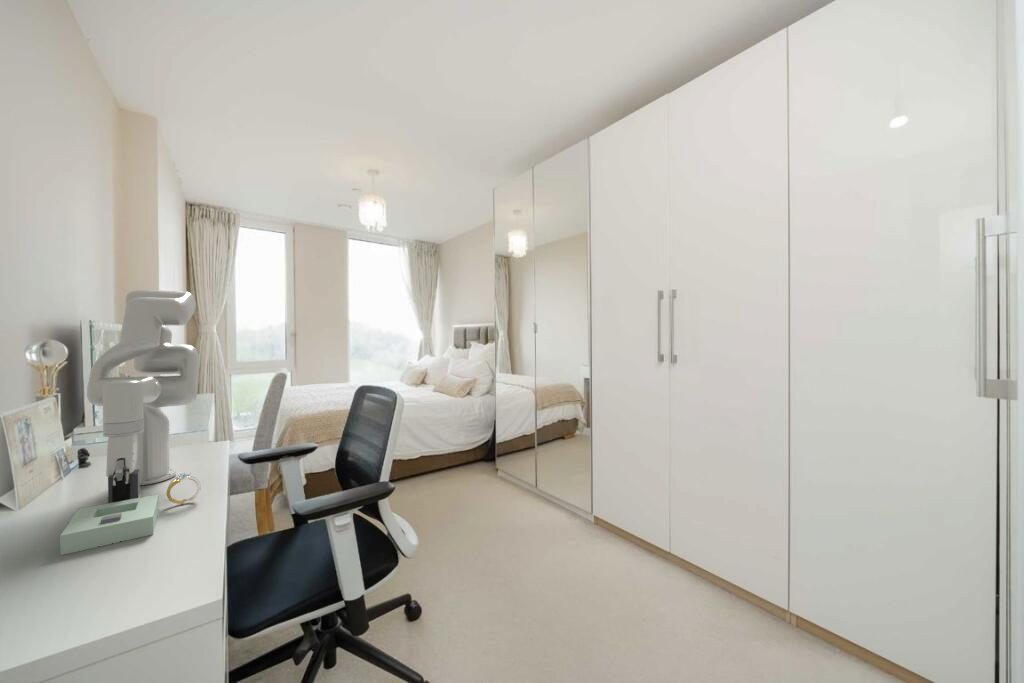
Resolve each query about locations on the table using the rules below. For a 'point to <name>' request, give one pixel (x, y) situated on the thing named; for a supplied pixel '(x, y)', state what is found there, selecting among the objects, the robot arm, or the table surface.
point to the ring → (177, 480)
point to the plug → (134, 485)
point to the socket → (110, 524)
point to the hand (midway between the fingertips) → (124, 494)
